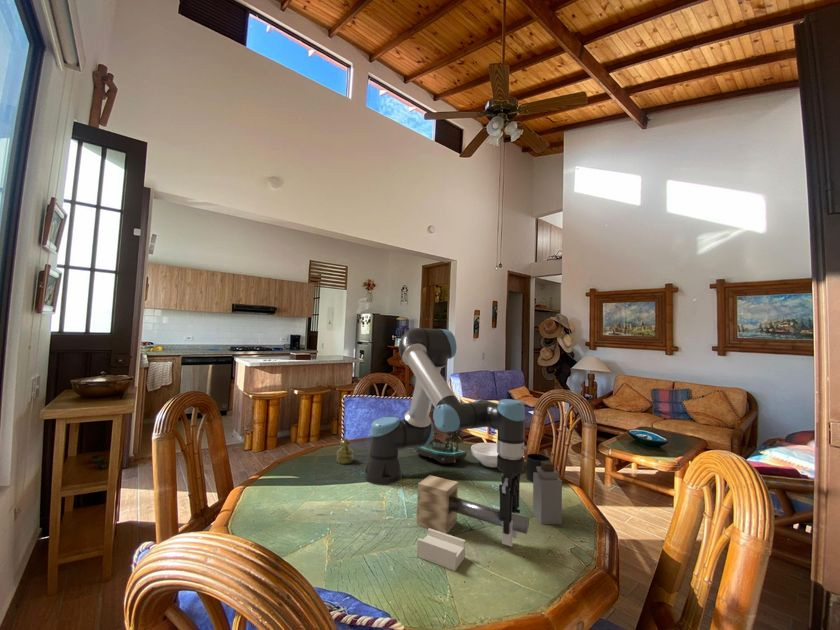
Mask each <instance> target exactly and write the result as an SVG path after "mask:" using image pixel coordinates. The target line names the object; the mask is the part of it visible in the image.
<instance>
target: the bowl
mask: <svg viewBox="0 0 840 630" xmlns="http://www.w3.org/2000/svg"><path fill="white" fill-rule="evenodd" d="M470 452H471V455H472V457H474V458H475V459H477V461H479V462H480V464H481V465H482V466H484V467H487V468H497V455H498V453H497V442H479V443H478V442H477V443H474V444H473V445H471V446H470Z"/></svg>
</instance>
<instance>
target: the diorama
mask: <svg viewBox="0 0 840 630" xmlns="http://www.w3.org/2000/svg"><path fill="white" fill-rule="evenodd" d="M433 431H434V435H435V437H434V438H433V440H432V441H431V442H430V443H429V444H428V445H426V446H422V447H415V448H414V450H415V452H416V453H417V454H419V455H420V456H422V457H425V458H431V459H433V460H435V461H437V462H439V463H441V464H442V465H446V464H447V465H448V464H450V463H451V464H452V463H454V464H455V463H456V461H457V460H462V459H464V458H466V457H467V451H465V450H464V451H463V450H461V449H459V444H463V443H464V441H465V440H464V439H463V437H464V433H462V432H463V431H464V430H456V431H445V433H446V436H447V437H445V440H444V439H443V438H442V437H440V436H437V435H438V430H436V431H435V430H434V429H433ZM450 442H451V443H450ZM449 443H450V444H449ZM455 443H456V447H455Z"/></svg>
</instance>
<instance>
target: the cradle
mask: <svg viewBox="0 0 840 630" xmlns="http://www.w3.org/2000/svg"><path fill="white" fill-rule="evenodd" d="M416 543H417V544H416V547H417V548H416V557H417V558H420V559H422V560H426V561H428V562H430V563H433V564H436V565H438V566H440V567H443V568H446V569H448V570H452V571H454V572H456V571H457V569H458V568H459V566H460V565H461V564H462V562H463V561H464V560H465V558H466V540H465V539H464V538H460V537H457V536H453V535H451V534H448V533H447V534H445V533H442V532H439V531H436V530H433V529H430V528H429V529H428V528H427V534H426V536H425V537H424V538H421V537H418V538H417V542H416Z"/></svg>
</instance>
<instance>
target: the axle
mask: <svg viewBox="0 0 840 630" xmlns="http://www.w3.org/2000/svg"><path fill="white" fill-rule="evenodd" d="M449 511H453V512H456V513H457V514H459V515H463V516H466V517H469V518H472V519H477V520H479V521H483V522H486V523H489V524H492V525H496V526H499V527H501V528H502V521H500V519H499V517H500V508H499V509H498V508H495V507H491V506H489V505H483V504H481V503H477V502H474V501H470V500H466V499H463V498H460V497H457V498H456V497H453V496H449ZM516 514H517V513H516ZM516 514H513V513H512V521H513V530H515V531H517V532H519V533H522V534H524V535H527V534H529V533H528V532H529V527H530V519H529V517H526V516H523V515H519V514H517V515H516Z"/></svg>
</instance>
